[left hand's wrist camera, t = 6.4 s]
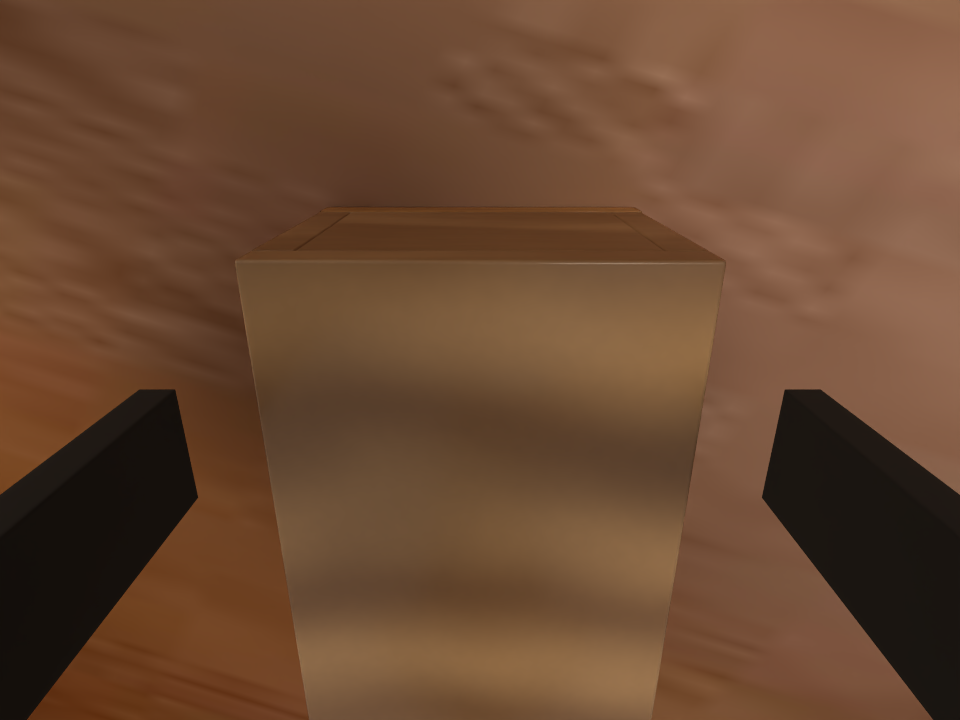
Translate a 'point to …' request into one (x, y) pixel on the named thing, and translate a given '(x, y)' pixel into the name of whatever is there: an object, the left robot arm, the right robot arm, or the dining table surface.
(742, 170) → the dining table surface
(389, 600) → the brown wooden block
